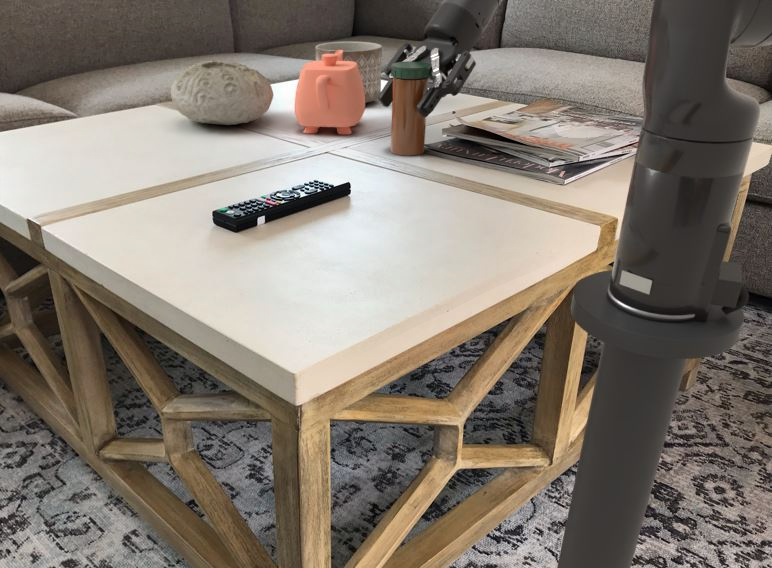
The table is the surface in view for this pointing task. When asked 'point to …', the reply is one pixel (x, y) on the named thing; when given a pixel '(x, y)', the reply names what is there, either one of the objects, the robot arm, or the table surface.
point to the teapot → (329, 94)
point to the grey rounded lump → (221, 93)
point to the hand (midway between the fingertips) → (401, 108)
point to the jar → (408, 116)
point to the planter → (359, 62)
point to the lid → (411, 70)
